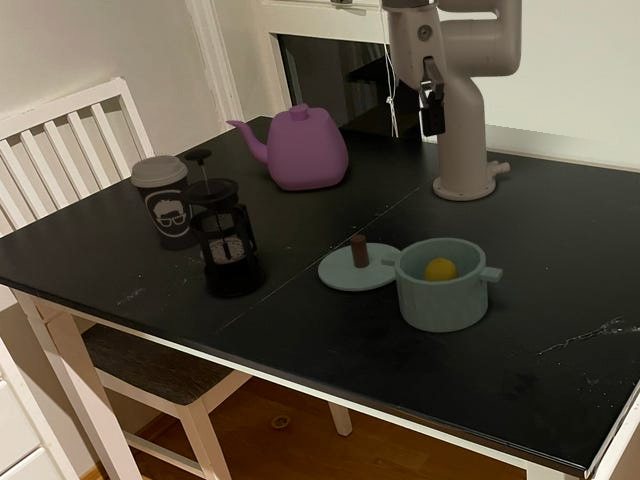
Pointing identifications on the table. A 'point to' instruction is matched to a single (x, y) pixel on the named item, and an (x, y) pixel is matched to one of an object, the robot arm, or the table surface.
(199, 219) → the french press
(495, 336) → the table surface
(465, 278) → the pot
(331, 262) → the lid
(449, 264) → the lemon
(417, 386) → the table surface
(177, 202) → the coffee cup
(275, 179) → the teapot
